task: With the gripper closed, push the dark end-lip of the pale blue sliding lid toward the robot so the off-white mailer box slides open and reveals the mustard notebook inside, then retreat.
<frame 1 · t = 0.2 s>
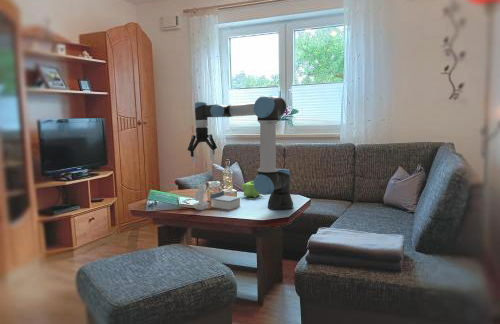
hand: (203, 160, 230), 27 cm above the table, fingers open, 13 cm apart
figurine: (201, 209, 215), on the table
mailer box: (225, 207, 219), on the table
lid: (225, 196, 219), point 7 cm above the table, slide at 0.0 cm
notebook: (227, 206, 218), point 1 cm above the table, touching mailer box
green lumpy block: (252, 196, 249), on the table
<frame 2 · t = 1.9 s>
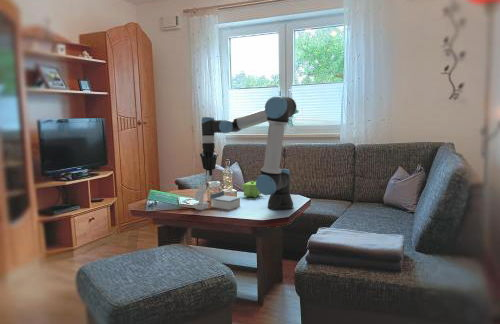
hand: (209, 180, 225), 15 cm above the table, fingers closed
nothing on the table moved.
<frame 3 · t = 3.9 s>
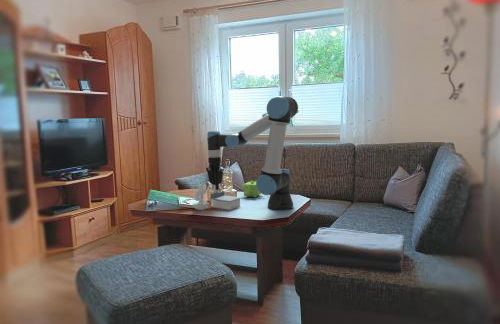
hand: (215, 195, 223), 7 cm above the table, fingers closed
lid: (226, 196, 218), point 7 cm above the table, slide at 0.4 cm, touching gripper
everything else where it was.
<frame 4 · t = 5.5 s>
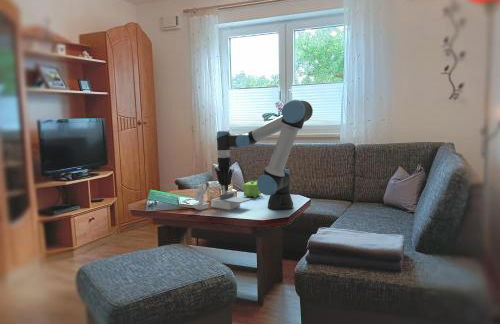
hand: (225, 196, 219), 7 cm above the table, fingers closed
lid: (235, 197, 214), point 7 cm above the table, slide at 7.7 cm, touching gripper
everything else where it was.
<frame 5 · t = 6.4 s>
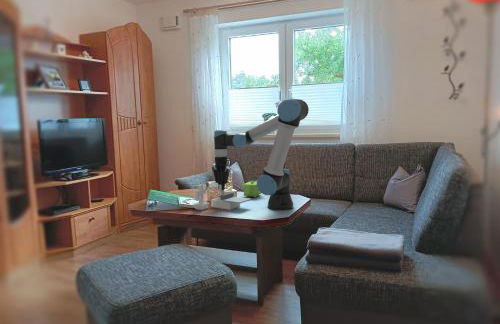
hand: (221, 194, 220), 7 cm above the table, fingers closed
lid: (235, 197, 214), point 7 cm above the table, slide at 7.7 cm
everything else where it was.
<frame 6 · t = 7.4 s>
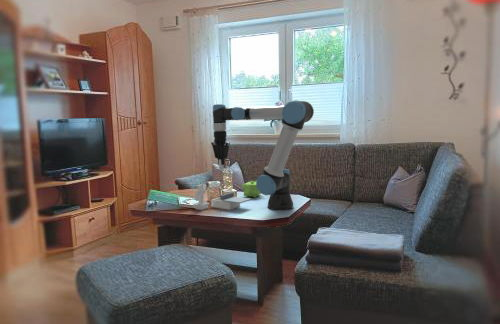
hand: (221, 170, 219), 22 cm above the table, fingers closed
nothing on the table moved.
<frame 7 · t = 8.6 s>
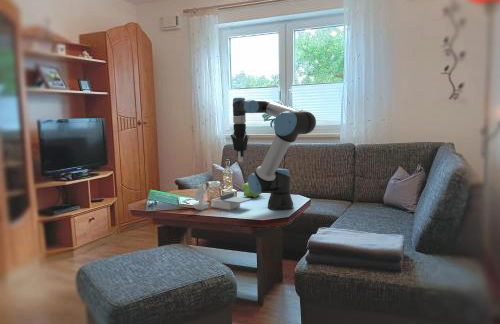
hand: (240, 161, 224), 26 cm above the table, fingers closed
nothing on the table moved.
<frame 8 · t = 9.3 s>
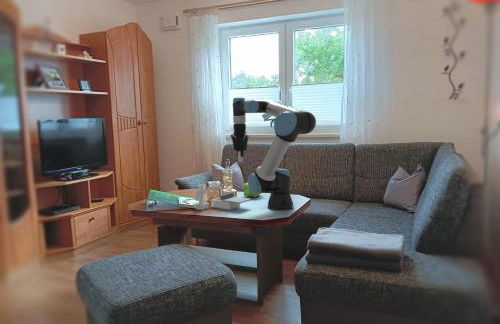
hand: (240, 161, 224), 26 cm above the table, fingers closed
nothing on the table moved.
at the end: lid slide at 7.7 cm; figurine moved 0.2 cm from its start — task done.
